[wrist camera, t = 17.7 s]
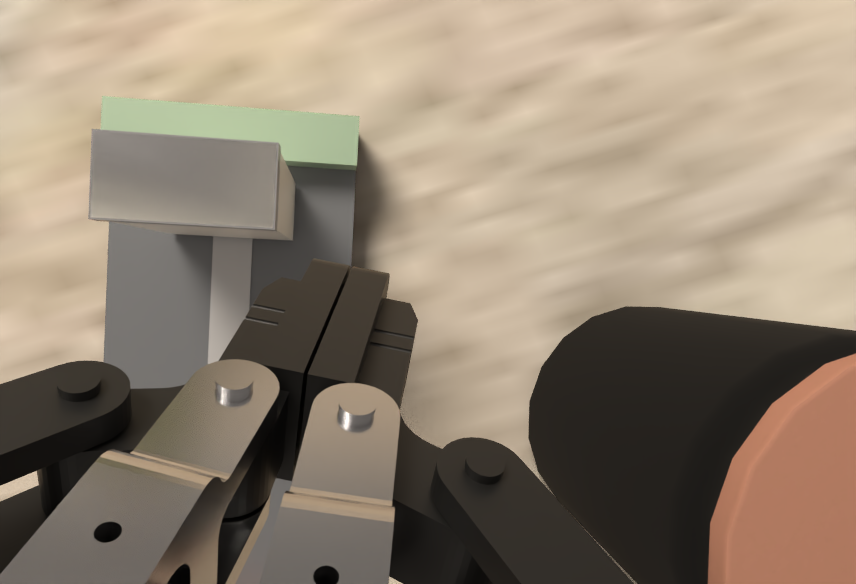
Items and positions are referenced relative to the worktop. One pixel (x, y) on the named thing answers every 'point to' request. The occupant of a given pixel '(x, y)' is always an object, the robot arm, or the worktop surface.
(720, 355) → the coffee jar
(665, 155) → the worktop surface
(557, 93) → the worktop surface
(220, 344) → the plate
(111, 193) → the handle
